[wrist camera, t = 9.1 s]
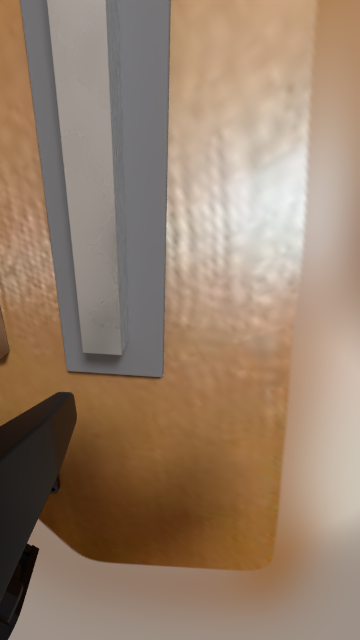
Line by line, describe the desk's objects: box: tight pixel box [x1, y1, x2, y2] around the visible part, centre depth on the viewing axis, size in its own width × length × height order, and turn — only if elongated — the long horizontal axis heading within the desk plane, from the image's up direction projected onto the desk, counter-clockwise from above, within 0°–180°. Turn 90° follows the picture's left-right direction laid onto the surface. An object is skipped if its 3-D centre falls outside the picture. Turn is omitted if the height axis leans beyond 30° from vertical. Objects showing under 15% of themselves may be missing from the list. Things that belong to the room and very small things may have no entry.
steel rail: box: [47, 0, 130, 355], centre depth 15 cm, size 22×2×2 cm, turn 178°
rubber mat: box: [20, 0, 171, 377], centre depth 17 cm, size 28×7×1 cm, turn 178°
